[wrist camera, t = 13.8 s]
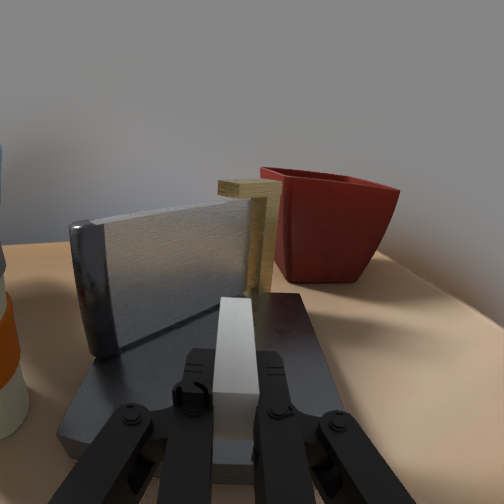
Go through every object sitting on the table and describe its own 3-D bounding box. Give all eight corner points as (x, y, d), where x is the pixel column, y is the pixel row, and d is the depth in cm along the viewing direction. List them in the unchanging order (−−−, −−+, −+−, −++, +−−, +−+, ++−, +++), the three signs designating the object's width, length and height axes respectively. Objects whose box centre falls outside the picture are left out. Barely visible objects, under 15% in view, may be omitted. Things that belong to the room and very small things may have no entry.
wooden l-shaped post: (212, 321, 36) (218, 180, 31) (252, 302, 41) (263, 178, 36) (230, 332, 34) (239, 183, 29) (270, 311, 40) (283, 181, 34)
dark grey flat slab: (69, 456, 15) (55, 433, 14) (142, 305, 38) (140, 284, 37) (347, 476, 17) (360, 455, 16) (296, 314, 39) (299, 293, 38)
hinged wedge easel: (97, 361, 22) (75, 231, 18) (84, 345, 23) (64, 223, 20) (250, 292, 37) (257, 200, 33) (232, 284, 38) (238, 196, 35)
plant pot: (339, 252, 65) (350, 175, 60) (383, 290, 48) (403, 189, 42) (252, 250, 62) (259, 166, 57) (272, 293, 44) (284, 175, 39)
